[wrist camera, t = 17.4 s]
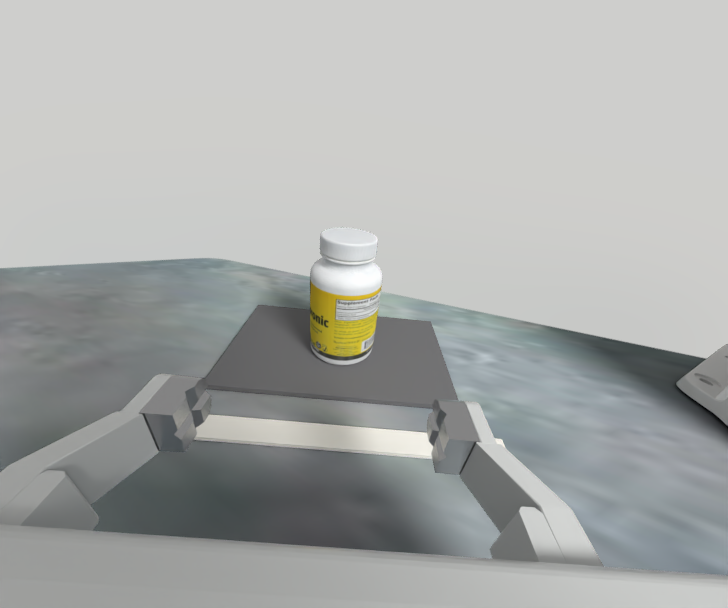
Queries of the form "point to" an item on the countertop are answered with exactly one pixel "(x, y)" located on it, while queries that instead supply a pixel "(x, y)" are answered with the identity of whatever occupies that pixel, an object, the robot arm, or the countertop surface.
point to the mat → (329, 381)
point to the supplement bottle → (344, 296)
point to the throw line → (316, 436)
